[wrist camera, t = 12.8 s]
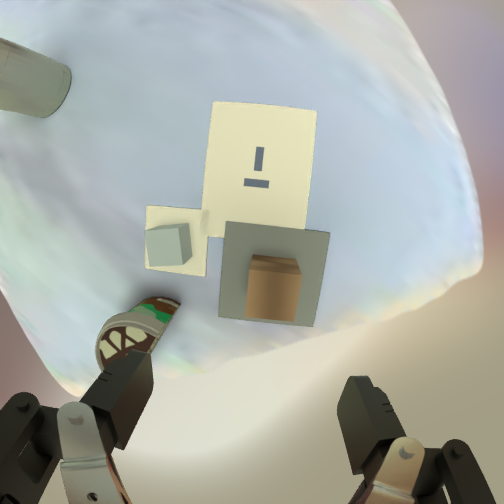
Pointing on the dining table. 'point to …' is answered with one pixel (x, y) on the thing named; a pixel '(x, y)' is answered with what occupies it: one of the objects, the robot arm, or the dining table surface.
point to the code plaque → (257, 166)
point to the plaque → (198, 242)
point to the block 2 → (273, 288)
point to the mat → (276, 245)
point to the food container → (134, 329)
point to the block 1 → (168, 245)
